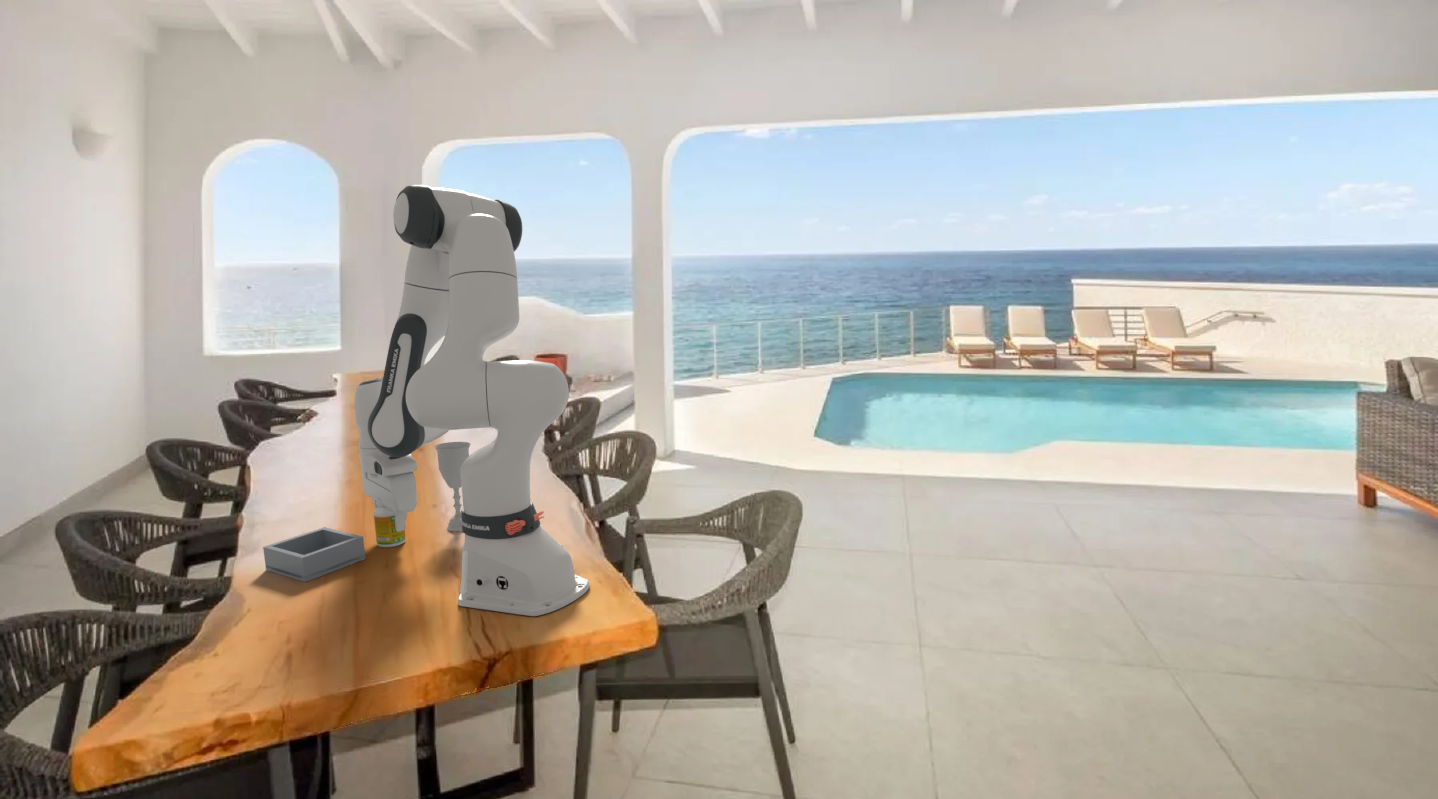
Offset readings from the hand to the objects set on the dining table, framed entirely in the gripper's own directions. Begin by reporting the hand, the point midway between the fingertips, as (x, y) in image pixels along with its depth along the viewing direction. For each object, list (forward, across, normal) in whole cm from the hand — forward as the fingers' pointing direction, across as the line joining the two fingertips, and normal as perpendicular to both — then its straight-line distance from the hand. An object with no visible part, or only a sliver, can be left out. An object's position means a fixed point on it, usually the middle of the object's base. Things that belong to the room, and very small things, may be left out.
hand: (391, 524), depth 151 cm
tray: (+4, +2, -15) cm, 15 cm away
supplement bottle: (+4, 0, 0) cm, 4 cm away
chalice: (+4, +1, +14) cm, 14 cm away
